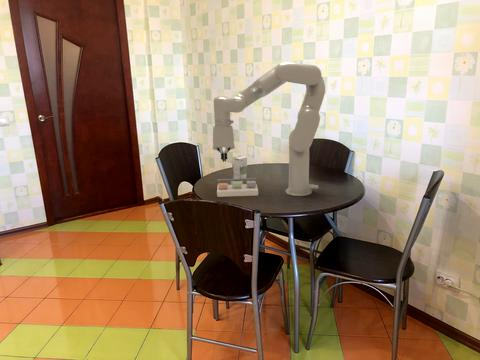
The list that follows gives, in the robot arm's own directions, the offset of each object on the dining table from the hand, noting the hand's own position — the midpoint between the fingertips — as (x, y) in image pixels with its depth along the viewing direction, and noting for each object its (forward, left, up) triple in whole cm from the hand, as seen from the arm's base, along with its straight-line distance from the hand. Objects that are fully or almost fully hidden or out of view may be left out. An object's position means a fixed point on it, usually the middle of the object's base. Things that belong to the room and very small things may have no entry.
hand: (224, 160), depth 184 cm
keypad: (-6, 0, -16) cm, 17 cm away
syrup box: (-8, -18, -17) cm, 26 cm away
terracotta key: (+1, 0, -13) cm, 13 cm away
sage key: (-6, 0, -13) cm, 14 cm away
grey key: (-13, 0, -13) cm, 18 cm away
